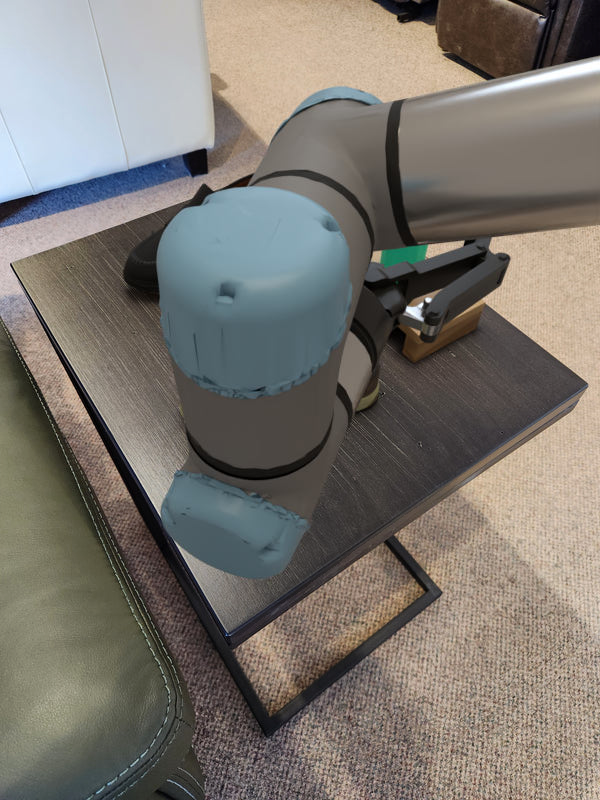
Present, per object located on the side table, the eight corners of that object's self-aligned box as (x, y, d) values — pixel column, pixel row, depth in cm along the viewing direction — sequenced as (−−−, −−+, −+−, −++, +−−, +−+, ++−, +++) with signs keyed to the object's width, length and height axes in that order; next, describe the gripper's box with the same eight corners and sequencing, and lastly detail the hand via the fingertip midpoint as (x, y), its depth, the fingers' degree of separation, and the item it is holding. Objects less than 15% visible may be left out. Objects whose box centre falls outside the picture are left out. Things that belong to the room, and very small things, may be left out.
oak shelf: (476, 328, 85) (485, 302, 81) (413, 363, 80) (420, 337, 76) (377, 248, 95) (381, 221, 92) (317, 275, 91) (318, 248, 87)
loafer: (112, 276, 89) (93, 203, 80) (266, 218, 101) (265, 148, 91) (142, 311, 84) (125, 238, 75) (300, 246, 96) (303, 175, 86)
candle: (370, 275, 83) (381, 200, 74) (392, 255, 86) (406, 179, 77) (407, 293, 81) (423, 218, 72) (428, 271, 84) (447, 196, 75)
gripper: (164, 338, 45) (274, 195, 58) (491, 443, 40) (534, 260, 52) (147, 258, 39) (274, 118, 52) (528, 369, 34) (566, 183, 47)
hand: (405, 189), depth 52 cm, fingers open, 13 cm apart
